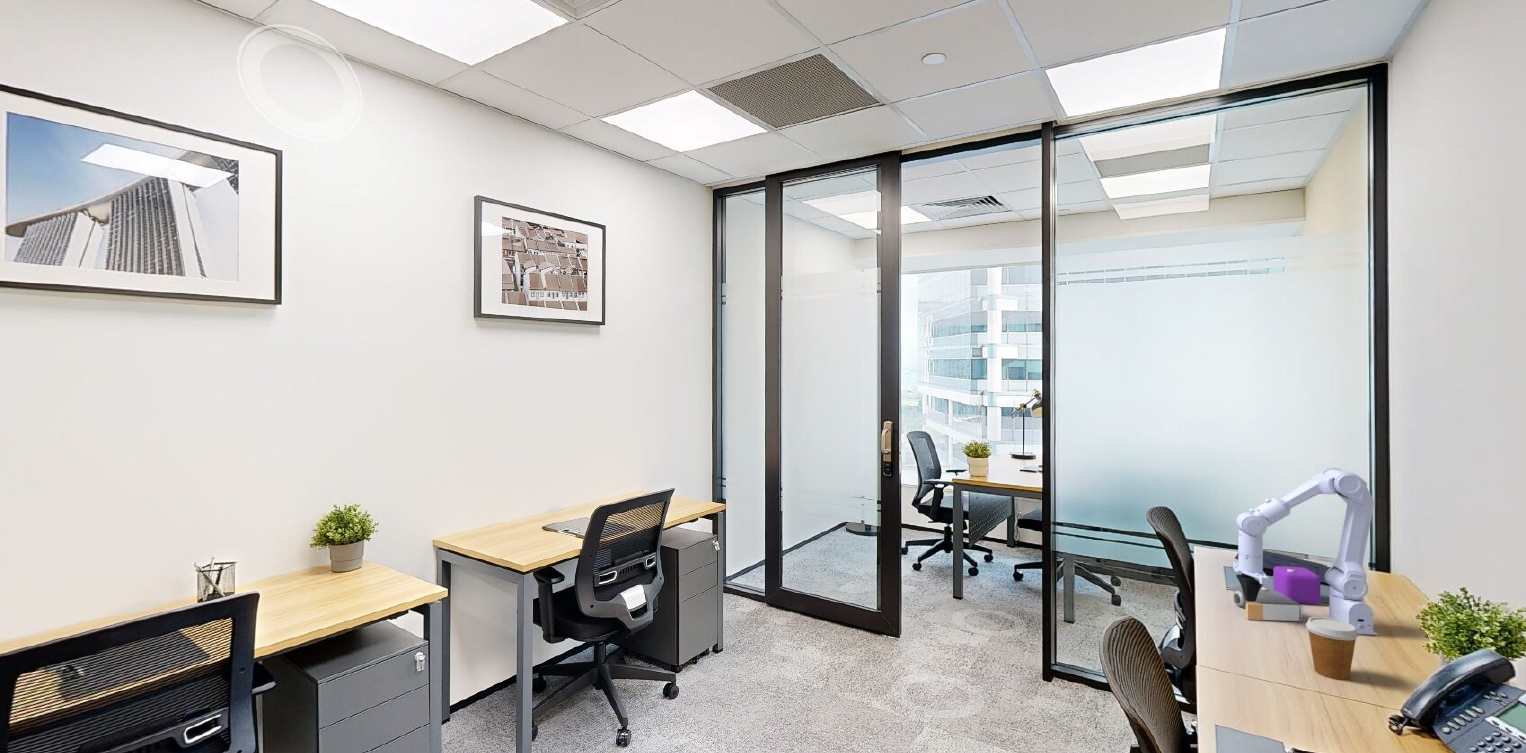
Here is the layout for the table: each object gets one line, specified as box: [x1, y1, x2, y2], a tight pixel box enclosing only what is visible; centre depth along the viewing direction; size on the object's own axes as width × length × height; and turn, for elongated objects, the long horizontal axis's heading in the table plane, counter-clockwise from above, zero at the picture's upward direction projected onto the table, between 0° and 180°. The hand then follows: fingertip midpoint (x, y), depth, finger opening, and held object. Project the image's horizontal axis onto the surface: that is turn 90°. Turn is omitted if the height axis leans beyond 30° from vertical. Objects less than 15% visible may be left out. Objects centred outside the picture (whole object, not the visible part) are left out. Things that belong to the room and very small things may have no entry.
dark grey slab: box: [1234, 550, 1331, 584], centre depth 231 cm, size 24×30×4 cm
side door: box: [1245, 603, 1300, 622], centre depth 187 cm, size 13×1×4 cm, turn 81°
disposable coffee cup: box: [1305, 616, 1360, 681], centre depth 155 cm, size 10×10×12 cm
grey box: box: [1233, 585, 1304, 622], centre depth 193 cm, size 15×12×6 cm
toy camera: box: [1272, 566, 1321, 605], centre depth 204 cm, size 11×14×10 cm
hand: (1250, 601), depth 189 cm, fingers closed
